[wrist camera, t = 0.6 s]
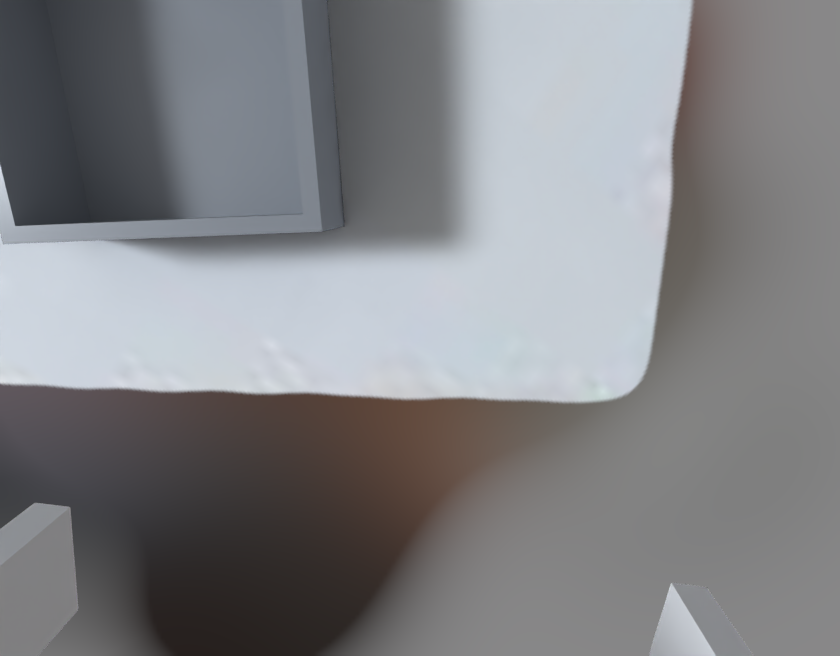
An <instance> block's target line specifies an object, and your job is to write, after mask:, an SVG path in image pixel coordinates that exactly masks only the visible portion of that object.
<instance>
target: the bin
mask: <svg viewBox="0 0 840 656" xmlns="http://www.w3.org/2000/svg"><path fill="white" fill-rule="evenodd" d="M343 226H345V225H344V212H343V199H342V186H341V173H340V160H339V147H338V134H337V121H336V108H335V96H334V83H333V70H332V57H331V44H330V31H329V18H328V5H327V0H0V234H1V238H2V242H3V244H18V243H44V242H69V241H95V240H120V239H146V238H172V237H197V236H223V235H248V234H274V233H299V232H323V231H327V230H331V229H335V228H339V227H343Z"/></svg>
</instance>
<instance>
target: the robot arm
mask: <svg viewBox="0 0 840 656" xmlns="http://www.w3.org/2000/svg"><path fill="white" fill-rule="evenodd" d="M77 610H78V600H77V587H76V575H75V562H74V550H73V537H72V525H71V513H70V507H65V506H57V505H49V504H40V503H34V504H33V505H31V506H30V507H29V508H27V509H26V510H25V511H24V512H22V513H21V514H20V515H18V516H17V517H16V518H14V519H13V520H12V521H10V522H9V523H8V524H6V525H5V526H4V527H2V528H1V529H0V656H38V655H39V654H40V653H41V652H42V651H43V650H44V648H45V647H46V646H47V645H48V644H49V643H50V642H51V640H52V639H53V638H54V637H55V636H56V635H57V633H58V632H59V631H60V630H61V629H62V628H63V627H64V626H65V624H66V623H67V622H68V621H69V620H70V619H71V618H72V616H73V615H74V614H75V613H76V612H77ZM649 656H754V655H753V653H752V652H751V650H750V649H749V648H748V646H747V645H746V643H745V642H744V640H743V639H742V638H741V636H740V635H739V633H738V632H737V630H736V629H735V627H734V626H733V625H732V623H731V622H730V620H729V619H728V618H727V616H726V614H725V613H724V612H723V610H722V609H721V607H720V606H719V605H718V603H717V602H716V600H715V599H714V597H713V596H712V594H711V593H710V591H709V590H708V589H707V587H702V586H694V585H687V584H678V583H671V585H670V588H669V592H668V595H667V598H666V601H665V605H664V608H663V611H662V614H661V617H660V621H659V624H658V628H657V630H656V634H655V637H654V640H653V643H652V647H651V650H650V653H649Z"/></svg>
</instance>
